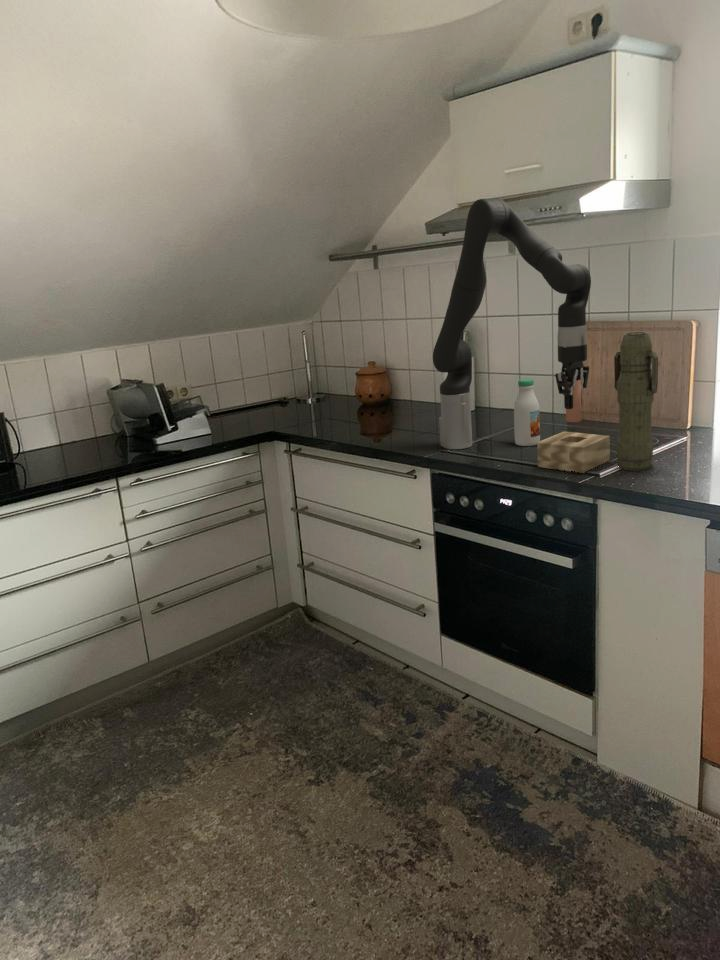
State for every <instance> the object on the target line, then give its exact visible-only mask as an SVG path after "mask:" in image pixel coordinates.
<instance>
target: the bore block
mask: <svg viewBox="0 0 720 960" xmlns="http://www.w3.org/2000/svg"><path fill="white" fill-rule="evenodd" d="M610 439H611V436H610V435H605V434H604V435H603V434H593V433H586V432H576V431H575V432H573V431H561V432H560V433H557V434H554V435H552V436H550V437H549V436H548V437H547V438H545V439H542V440H540V441H539V442H537V445H536V446H537V447H536V450H537V467H538V468H544V469H552V470H557V469H558V471H564V470H565V471H564V472H571V471H573V472H572V473H578V472H579V473H580V474H585V472H586V471H588V470H590V469H592V470H594V469H596V468H598V467H599V465H600V466H602V465H604V464H606V463H608V462H610V461H609V460H611V449H610V448H611V447H610V446H611V445H610V443H611V441H610ZM607 461H608V462H607ZM605 462H606V463H605ZM603 463H604V464H603ZM601 464H602V465H601ZM597 466H598V467H597ZM595 467H596V468H595ZM593 468H594V469H593ZM574 471H575V472H574ZM590 471H591V470H590ZM588 472H589V471H588ZM586 473H587V472H586Z"/></svg>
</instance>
